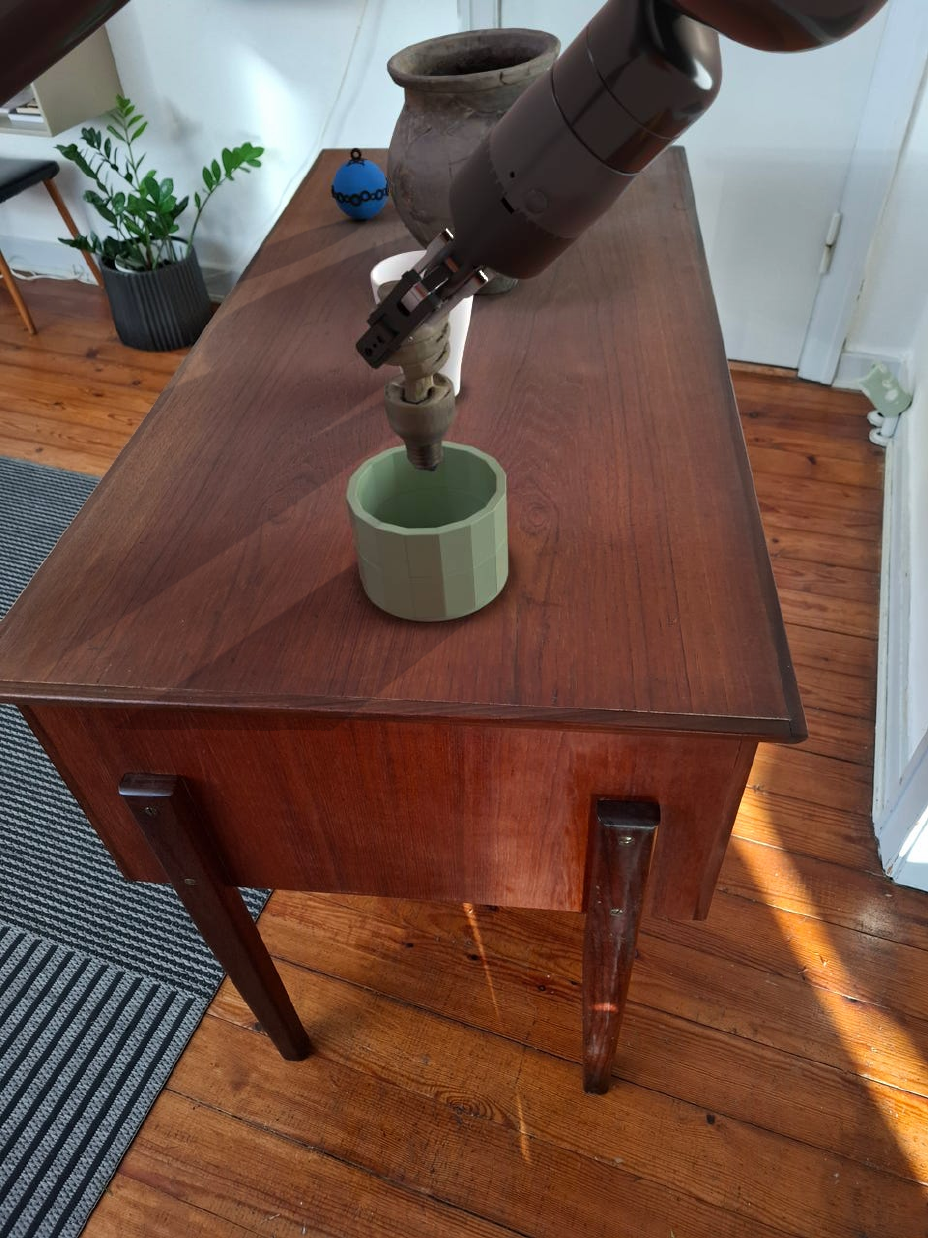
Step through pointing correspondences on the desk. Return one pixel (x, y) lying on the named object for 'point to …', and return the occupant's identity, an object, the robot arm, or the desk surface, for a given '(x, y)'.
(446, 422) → the light bulb
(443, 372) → the cup
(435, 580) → the pot
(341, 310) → the desk surface
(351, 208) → the ornament
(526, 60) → the clay pot
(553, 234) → the robot arm
